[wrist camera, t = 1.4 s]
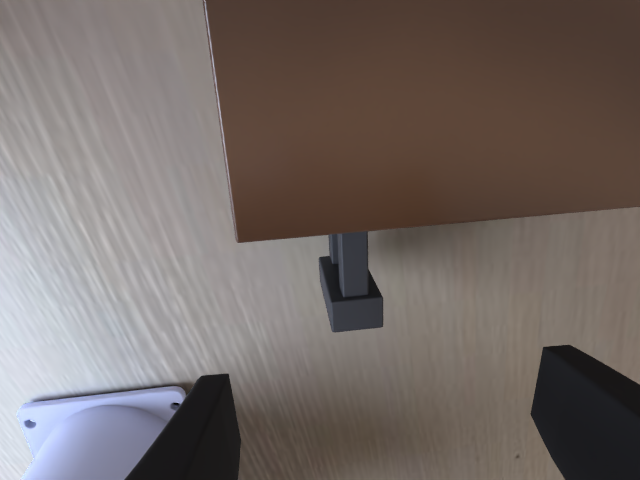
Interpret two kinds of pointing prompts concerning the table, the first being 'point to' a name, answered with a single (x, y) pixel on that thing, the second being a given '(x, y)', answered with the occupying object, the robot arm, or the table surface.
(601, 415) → the robot arm
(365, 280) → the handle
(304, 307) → the table surface
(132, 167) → the table surface
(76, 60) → the table surface
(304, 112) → the cupboard
